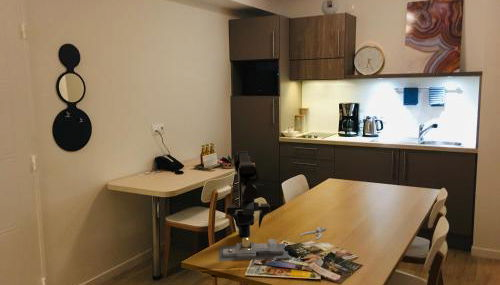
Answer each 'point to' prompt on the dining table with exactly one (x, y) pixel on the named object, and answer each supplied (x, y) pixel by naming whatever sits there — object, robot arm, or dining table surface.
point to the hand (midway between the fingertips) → (248, 227)
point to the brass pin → (245, 242)
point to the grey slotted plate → (247, 255)
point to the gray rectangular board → (252, 257)
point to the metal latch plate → (257, 247)
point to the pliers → (319, 230)
